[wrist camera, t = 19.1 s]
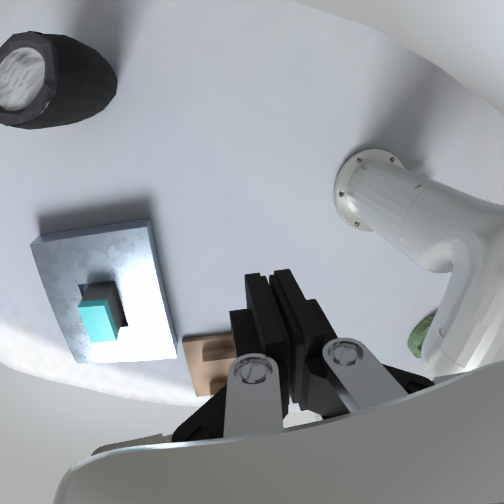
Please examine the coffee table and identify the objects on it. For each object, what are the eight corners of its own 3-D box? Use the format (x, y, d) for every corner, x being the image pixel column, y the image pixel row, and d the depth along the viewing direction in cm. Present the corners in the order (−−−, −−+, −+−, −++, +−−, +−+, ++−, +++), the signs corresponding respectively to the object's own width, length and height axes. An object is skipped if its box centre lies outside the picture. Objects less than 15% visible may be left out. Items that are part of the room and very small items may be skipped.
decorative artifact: (449, 313, 61) (418, 314, 59) (467, 331, 54) (437, 334, 52) (431, 349, 65) (400, 352, 62) (447, 368, 58) (415, 373, 56)
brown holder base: (254, 329, 53) (258, 345, 49) (258, 385, 59) (261, 400, 55) (182, 338, 52) (181, 354, 48) (196, 392, 57) (197, 408, 54)
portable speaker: (53, 114, 34) (-36, 126, 17) (76, 49, 31) (-3, 18, 13) (106, 129, 37) (37, 147, 19) (132, 62, 34) (78, 27, 16)
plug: (116, 275, 45) (104, 305, 38) (126, 309, 48) (116, 341, 41) (92, 278, 45) (77, 307, 38) (103, 311, 47) (91, 342, 40)
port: (150, 218, 43) (146, 226, 39) (177, 343, 52) (176, 357, 49) (39, 235, 41) (29, 244, 37) (81, 350, 50) (76, 363, 47)
